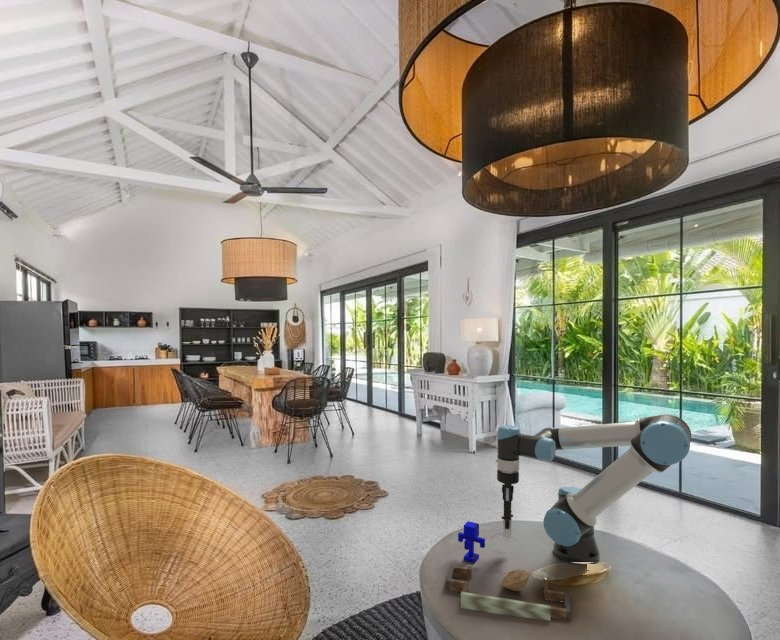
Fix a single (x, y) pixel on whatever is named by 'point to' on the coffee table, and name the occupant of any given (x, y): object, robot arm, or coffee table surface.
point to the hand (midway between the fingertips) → (507, 536)
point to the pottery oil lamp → (515, 579)
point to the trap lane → (503, 604)
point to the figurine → (471, 540)
